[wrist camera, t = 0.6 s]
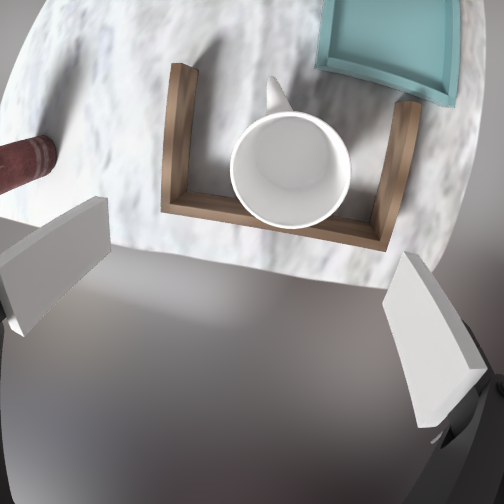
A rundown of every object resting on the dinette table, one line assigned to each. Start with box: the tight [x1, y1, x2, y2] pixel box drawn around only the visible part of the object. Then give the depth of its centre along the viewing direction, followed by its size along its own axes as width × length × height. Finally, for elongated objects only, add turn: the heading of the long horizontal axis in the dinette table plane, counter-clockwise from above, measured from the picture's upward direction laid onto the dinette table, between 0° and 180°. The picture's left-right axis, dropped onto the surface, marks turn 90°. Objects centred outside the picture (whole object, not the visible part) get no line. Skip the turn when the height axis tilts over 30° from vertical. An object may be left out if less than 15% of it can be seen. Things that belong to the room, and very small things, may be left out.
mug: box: [230, 76, 352, 229], centre depth 24 cm, size 9×12×11 cm
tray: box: [314, 0, 460, 108], centre depth 19 cm, size 18×15×3 cm
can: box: [0, 135, 56, 195], centre depth 26 cm, size 6×6×14 cm
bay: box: [161, 63, 422, 252], centre depth 27 cm, size 15×23×5 cm, turn 83°
